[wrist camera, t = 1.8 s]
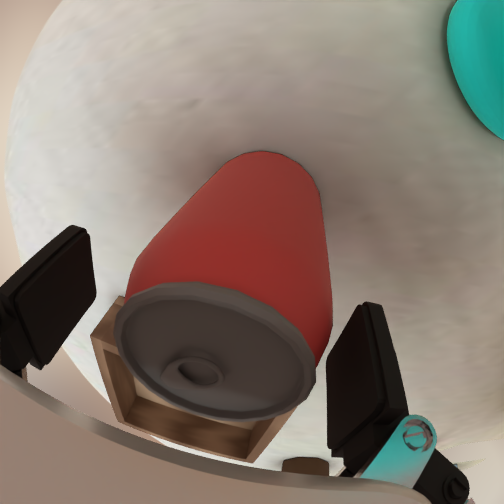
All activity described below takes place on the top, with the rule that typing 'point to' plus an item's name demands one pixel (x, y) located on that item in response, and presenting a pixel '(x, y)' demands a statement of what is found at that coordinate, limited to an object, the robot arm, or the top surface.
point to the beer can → (233, 295)
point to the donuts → (479, 58)
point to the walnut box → (173, 407)
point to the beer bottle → (306, 466)
